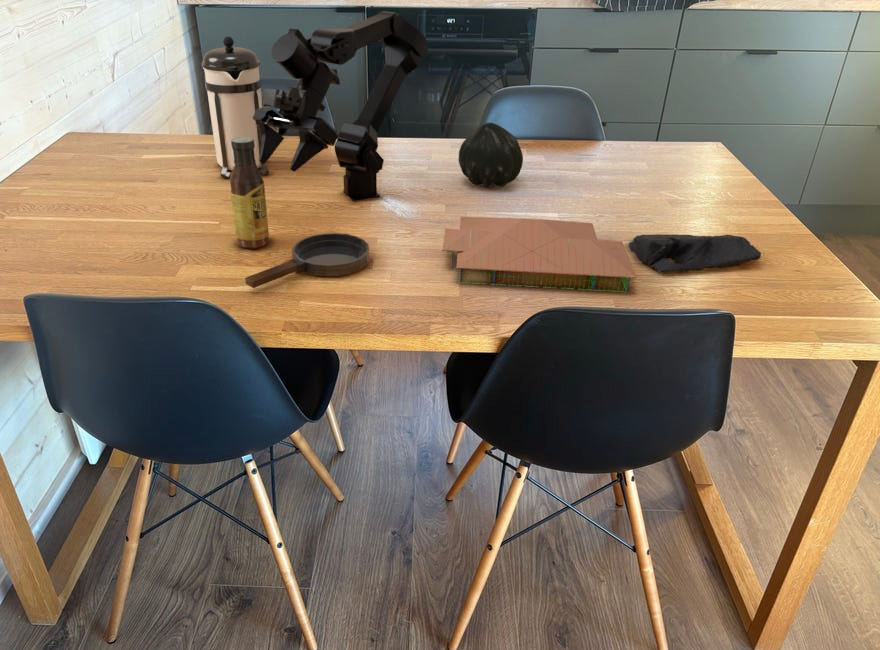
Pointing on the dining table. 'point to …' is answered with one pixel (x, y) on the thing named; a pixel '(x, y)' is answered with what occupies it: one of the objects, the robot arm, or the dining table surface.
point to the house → (536, 249)
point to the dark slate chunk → (692, 251)
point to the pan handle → (276, 273)
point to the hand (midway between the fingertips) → (276, 166)
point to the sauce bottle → (248, 196)
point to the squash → (490, 156)
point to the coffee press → (233, 100)
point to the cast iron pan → (332, 254)
